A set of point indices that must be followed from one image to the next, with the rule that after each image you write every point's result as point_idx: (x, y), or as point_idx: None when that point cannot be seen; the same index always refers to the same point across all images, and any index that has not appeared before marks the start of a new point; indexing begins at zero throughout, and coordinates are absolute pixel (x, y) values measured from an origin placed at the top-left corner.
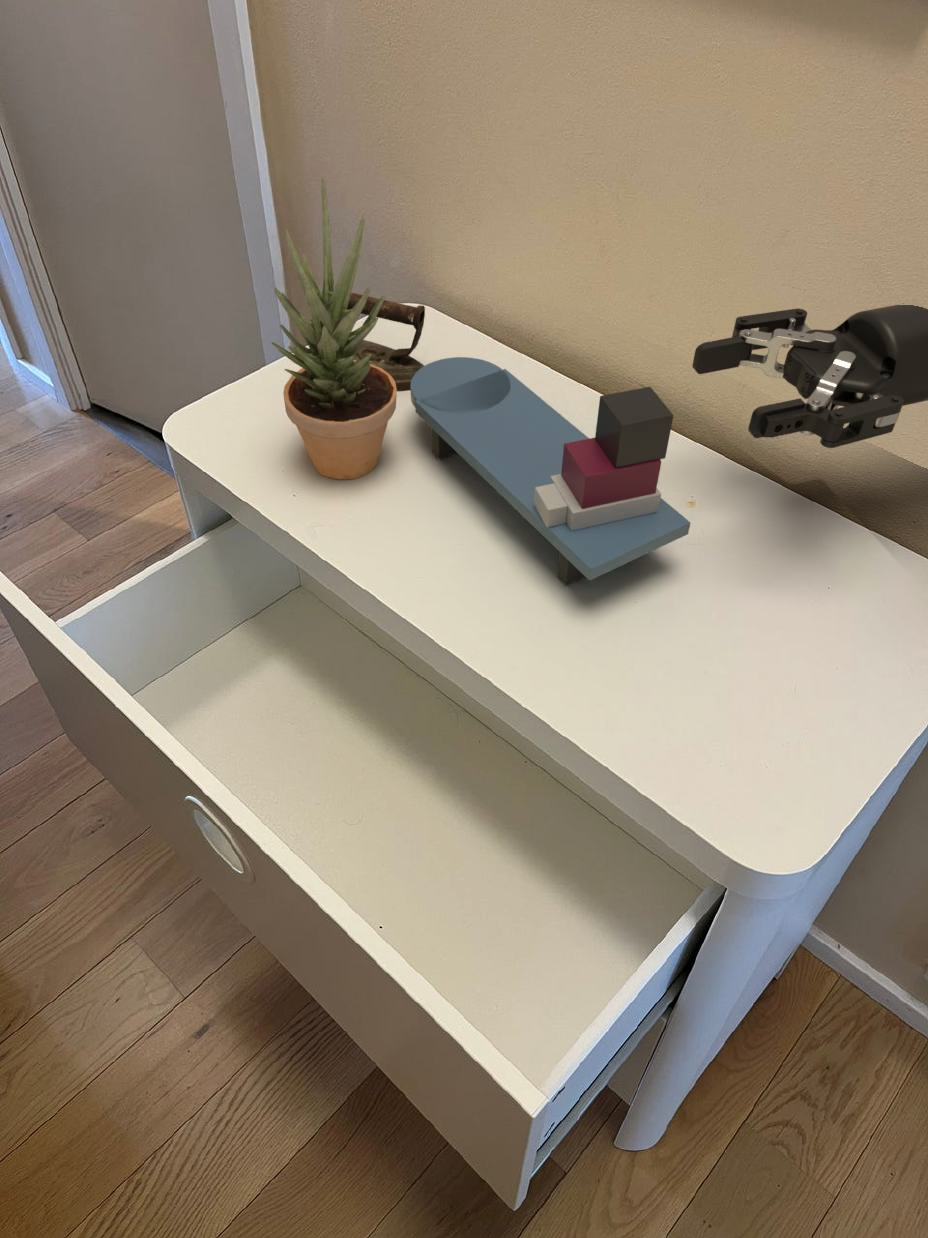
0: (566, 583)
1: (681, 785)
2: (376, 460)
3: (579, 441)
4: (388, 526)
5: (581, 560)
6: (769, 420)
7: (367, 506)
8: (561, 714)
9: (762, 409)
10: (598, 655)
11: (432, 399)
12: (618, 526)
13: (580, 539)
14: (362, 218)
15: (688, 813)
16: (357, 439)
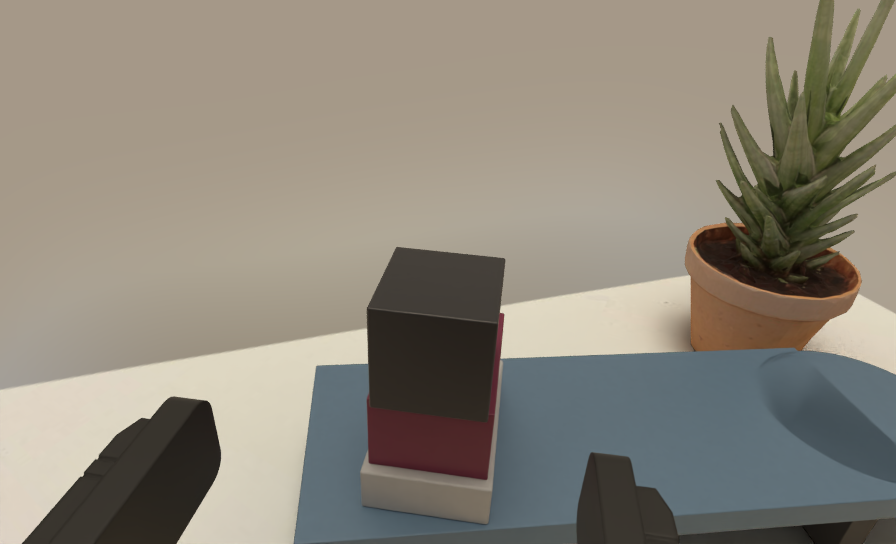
0: None
1: (40, 404)
2: None
3: (499, 330)
4: (588, 344)
5: (340, 365)
6: (140, 422)
7: (632, 340)
8: (222, 362)
9: (180, 406)
10: (256, 424)
11: (799, 363)
12: None
13: None
14: None
15: (14, 393)
16: (693, 284)
